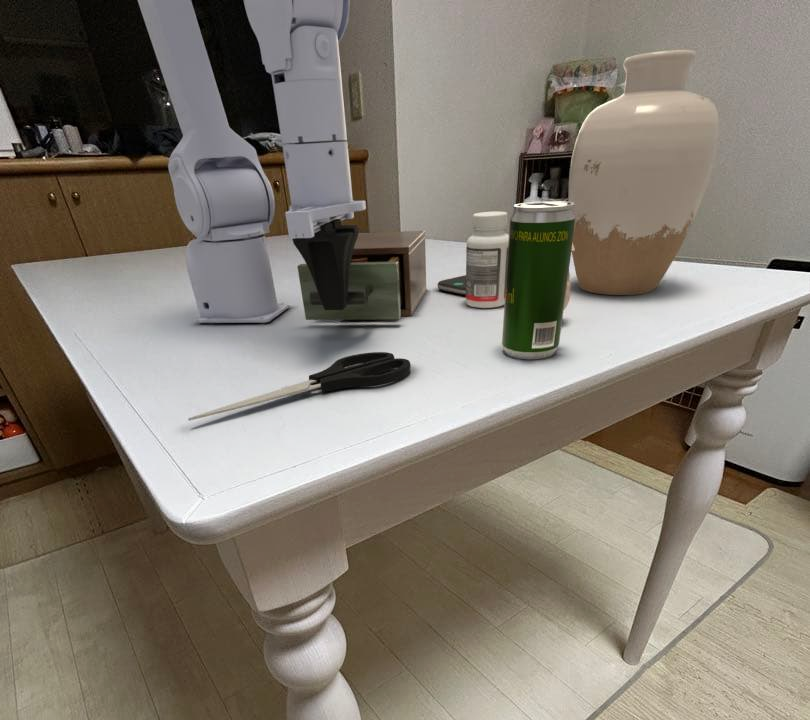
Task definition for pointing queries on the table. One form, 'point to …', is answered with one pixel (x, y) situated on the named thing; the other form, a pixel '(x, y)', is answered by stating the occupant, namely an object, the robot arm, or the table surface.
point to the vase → (640, 175)
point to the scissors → (336, 378)
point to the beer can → (537, 277)
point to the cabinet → (413, 260)
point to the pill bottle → (487, 260)
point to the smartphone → (454, 285)
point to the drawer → (361, 290)
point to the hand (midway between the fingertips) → (335, 308)
